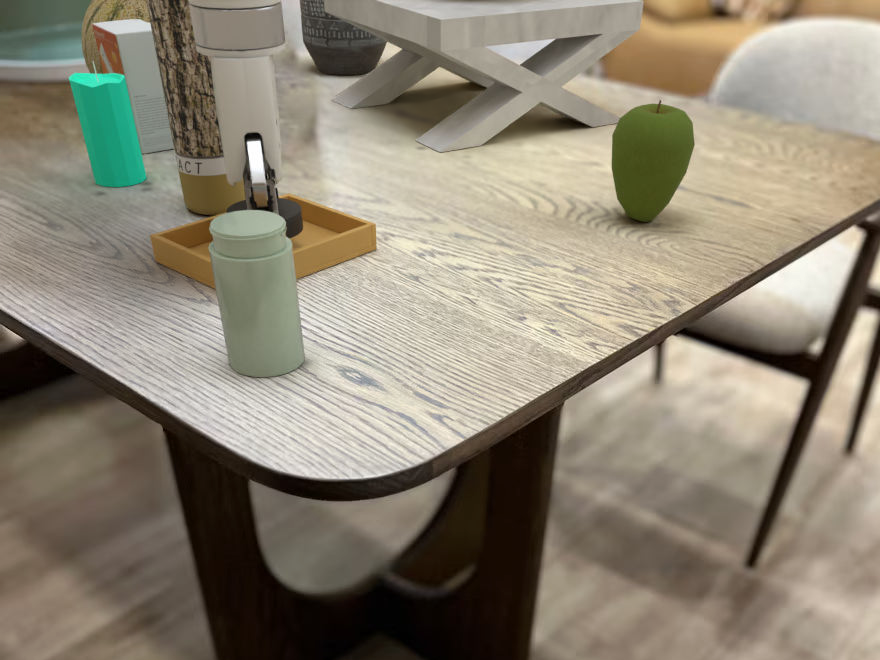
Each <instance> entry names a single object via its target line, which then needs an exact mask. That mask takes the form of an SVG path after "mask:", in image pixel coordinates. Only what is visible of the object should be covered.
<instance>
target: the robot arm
mask: <svg viewBox="0 0 880 660" xmlns="http://www.w3.org/2000/svg"><path fill="white" fill-rule="evenodd" d="M188 2H189V8H190V14H191V20H192V26H193V32H194V38H195V45H196V51H197V52H198V53H200V54H202V55H206V56H210V58H211V70H212V80H213V88H214V96H215V103H216V109H217V116H218V122H219V129H220V135H221V141H222V148H223V154H224V161H225V168H226V175H227V182H228V183H229V184H230V185H231V186H235V183H236V182H241V180H242V176H243V180H244V183H243V184H244V188H245V189H244V191H245V198H246V202H247V210H253V209H254V210H261V211H268V212H272V213H276V214H278V215H279V213H278V205H277V198H278V196H279V190H278V187H276V185H278V184H279V183H280V182H281V181H282V144H281V126H280V125H281V123H280V112H279V103H278V102H279V101H278V91H277V83H276V82H277V81H276V73H275V72H276V71H275V63H274V55H279V54H281V53H283V52H284V51H286V50H287V41H286V35H285V34H286V32H285V25H284V16H283V14H284V13H283V5H282V0H188ZM271 205H272V206H271ZM280 216H281V217H282V215H280Z"/></svg>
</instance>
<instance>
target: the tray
mask: <svg viewBox="0 0 880 660" xmlns="http://www.w3.org/2000/svg"><path fill="white" fill-rule="evenodd" d="M278 198H283V199H288V200H292V201H294V202H296V203H298V204H299V205H300V206H301V212H302V221H303V230H302V232H301V233H300V234H298V235H297V236H295V237H292V238H290V240H291V242H292V246H293V255H294V264H295V273H296V280H299V279H302V278H304V277H307V276H309V275H312V274H315V273H317V272H318V273H319V272H320V271H323V270H326V269H328V268H331V267H333V266H336V265H339V264H341V263H344V262H346V261H349V260H352V259H355V258H357V257H360V256H363V255H365V254H368V253H370V252H373V251H376V250H377V249H378V247H377V245H378V244H377V224H376V223H375V222H371V221H368V220H367V219H363V218H361V217H359V216H355V215H352V214H349V213H346V212H343V211H341V210H338V209H335V208H332V207H330V206H327V205H323V204H320V203H318V202H315V201H313V200H309V199H307V198H303V197H300V196H297V195H295V194H292V193H289V192H287V193H285V194H282V195H278ZM223 214H226V212H225V213H222V214H218V215H211V216H209V217H205V218H202V219H198V220H195V221H191V222H188V223H186V224H183V225H178V226H176V227H171V228H168V229H165V230H163V231H158V232H156V233H152V234H150V235H149V238H150V243H151V246H152V252H153V256H154V261H155V262H156V263H158V264H160V265H163V266H164V267H167V268H169V269H171V270H173V271H176V272H177V273H179V274H182V275H184V276H187V277H188V278H191V279H192V280H194V281H197V282H199V283H201V284H203V285H205V286H208V287H210V288H212V289H214V290H216V287H215V282H214V276H213V271H212V265H211V259H210V254H209V245H210V243H211V242H212V241H213V238H212V234H210V231H209V228H210V224H211V221H212V220H213V219H214V218H216V217H218V216H220V215H223Z"/></svg>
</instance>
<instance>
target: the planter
mask: <svg viewBox="0 0 880 660" xmlns="http://www.w3.org/2000/svg"><path fill="white" fill-rule="evenodd" d="M299 7H300V8H299V9H300V23H301V34H302V43H303V44H304V46H305V48H306V51H307V52H308V53H309V54H308V55H309V56H310V58H311V59H312V61H313V63H314V64H315V66H316V67H317V69H318V70H319V71H320V72H321V73H324V74H326V75H333V76H357V75H358V76H359V75H367V74H368V73H369V72H371V71H372V70H374V69H375V68H376V67H378V64H379V62H380V60H381V59H382V56H383V54H384V51H385V48H386V46H387V43H388V42H387V41H385V40H383V39H381V38H378V37H376V36H374V35H372V34H370V33H368V32H366V31H364V30H362V29H360V28H358V27H356V26H354V25H351V24H349V23H347V22H345V21H343V20H341V19H339V18H337V17H335V16H333V15H331V14H329V13H327V12H325V8H324V0H299Z"/></svg>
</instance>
